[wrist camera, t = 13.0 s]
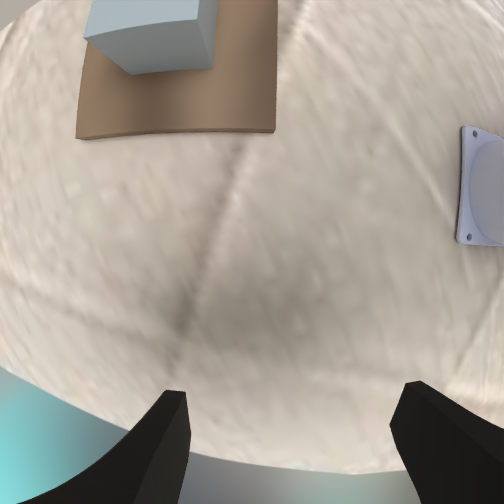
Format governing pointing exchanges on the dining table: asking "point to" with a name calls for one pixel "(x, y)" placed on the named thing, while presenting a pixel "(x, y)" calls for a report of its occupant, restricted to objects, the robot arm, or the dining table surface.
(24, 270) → the dining table surface
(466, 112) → the dining table surface
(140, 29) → the slate block
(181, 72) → the walnut base board
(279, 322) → the dining table surface
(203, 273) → the dining table surface
